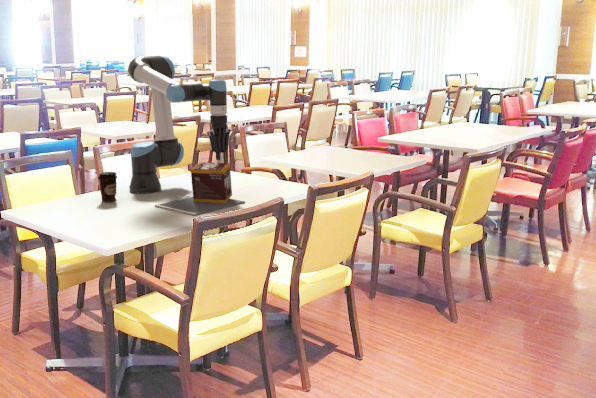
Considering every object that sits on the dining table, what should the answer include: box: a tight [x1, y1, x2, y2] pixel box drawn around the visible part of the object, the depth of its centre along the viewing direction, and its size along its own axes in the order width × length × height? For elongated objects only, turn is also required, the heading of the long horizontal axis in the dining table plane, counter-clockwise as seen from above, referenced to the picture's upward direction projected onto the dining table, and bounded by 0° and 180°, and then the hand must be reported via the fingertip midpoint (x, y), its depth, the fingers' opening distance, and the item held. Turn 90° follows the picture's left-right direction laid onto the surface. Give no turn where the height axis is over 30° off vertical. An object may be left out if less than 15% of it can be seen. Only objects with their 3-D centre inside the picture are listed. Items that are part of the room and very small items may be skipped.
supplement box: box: [190, 161, 233, 203], centre depth 291 cm, size 10×15×16 cm
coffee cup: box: [97, 171, 118, 203], centre depth 294 cm, size 9×8×13 cm
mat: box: [154, 196, 246, 217], centre depth 288 cm, size 26×30×1 cm
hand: (220, 166), depth 294 cm, fingers closed
